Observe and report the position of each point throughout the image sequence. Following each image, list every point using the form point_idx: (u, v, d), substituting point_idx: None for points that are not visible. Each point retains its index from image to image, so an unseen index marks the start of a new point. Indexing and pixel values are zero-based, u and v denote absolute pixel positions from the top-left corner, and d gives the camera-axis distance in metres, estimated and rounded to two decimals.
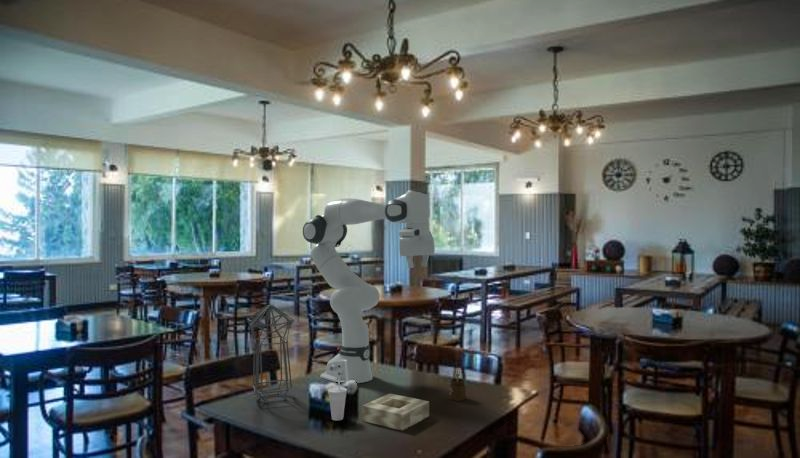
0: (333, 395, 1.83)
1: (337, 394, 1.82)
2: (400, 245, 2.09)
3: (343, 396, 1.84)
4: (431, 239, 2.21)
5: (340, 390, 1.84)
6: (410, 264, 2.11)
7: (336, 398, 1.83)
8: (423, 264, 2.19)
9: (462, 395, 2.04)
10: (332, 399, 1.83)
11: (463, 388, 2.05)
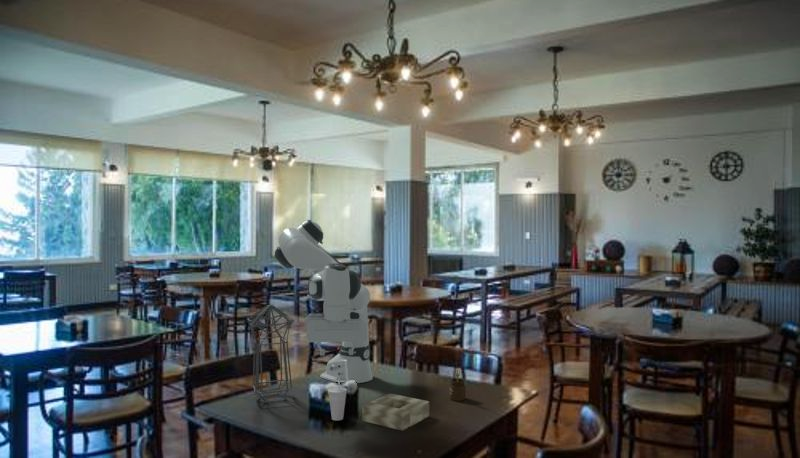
0: (333, 395, 1.83)
1: (337, 394, 1.82)
2: (366, 328, 1.85)
3: (343, 396, 1.84)
4: None
5: (340, 390, 1.84)
6: (353, 350, 1.86)
7: (336, 398, 1.83)
8: (324, 352, 1.85)
9: (462, 395, 2.04)
10: (332, 399, 1.83)
11: (463, 388, 2.05)
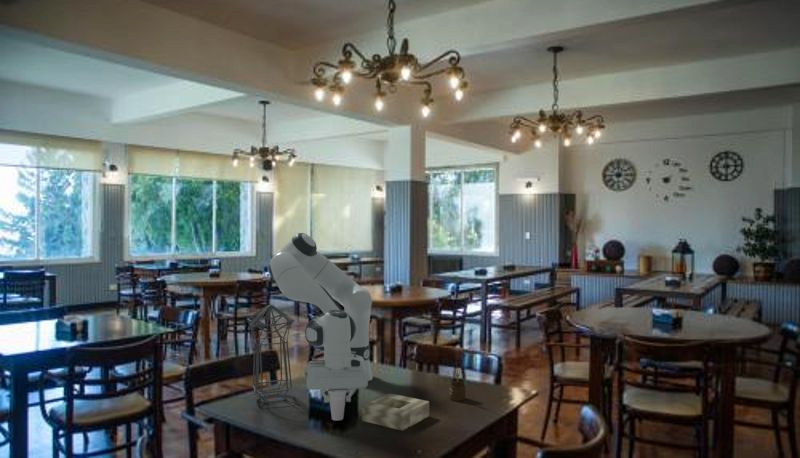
0: (333, 395, 1.83)
1: (337, 394, 1.82)
2: (367, 375, 1.85)
3: (343, 396, 1.84)
4: None
5: (340, 390, 1.84)
6: (350, 397, 1.86)
7: (336, 398, 1.83)
8: None
9: (462, 395, 2.04)
10: (332, 399, 1.83)
11: (463, 388, 2.05)
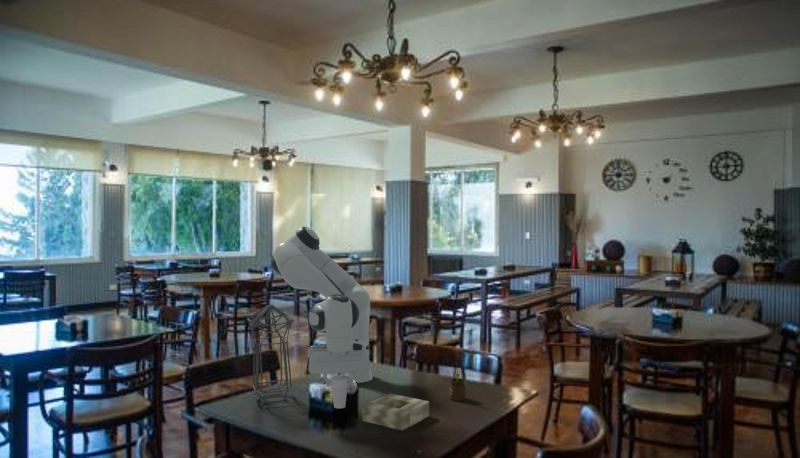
0: (335, 383, 1.83)
1: (339, 382, 1.83)
2: None
3: (345, 384, 1.84)
4: None
5: (342, 378, 1.84)
6: (352, 381, 1.86)
7: (338, 386, 1.83)
8: None
9: (462, 395, 2.04)
10: (334, 387, 1.83)
11: (463, 388, 2.05)
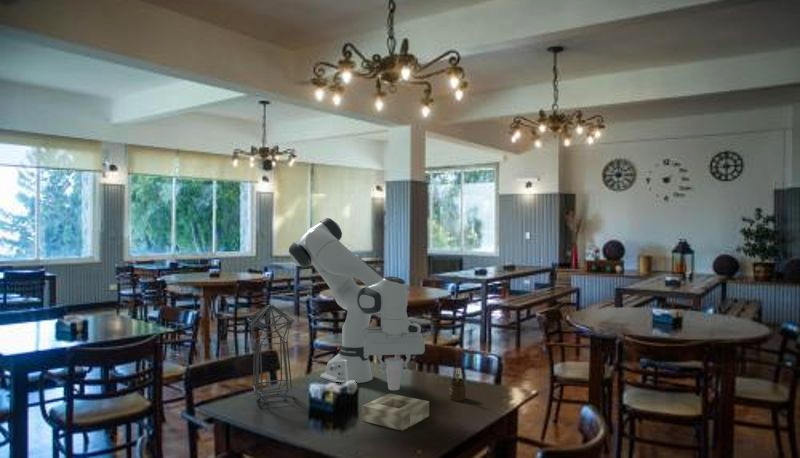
0: (390, 364, 1.83)
1: (394, 364, 1.82)
2: None
3: (400, 366, 1.83)
4: None
5: (397, 360, 1.84)
6: None
7: (393, 368, 1.83)
8: None
9: (462, 395, 2.04)
10: (389, 369, 1.83)
11: (463, 388, 2.05)
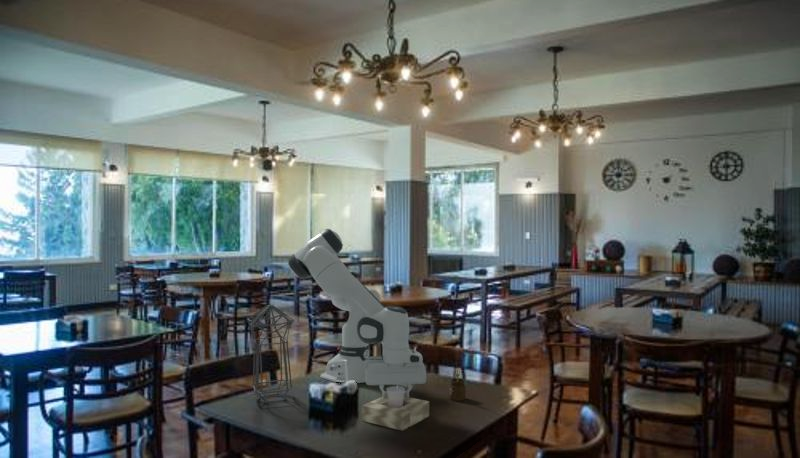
0: (392, 394, 1.83)
1: (396, 394, 1.83)
2: (425, 371, 1.85)
3: (401, 396, 1.84)
4: None
5: (398, 389, 1.84)
6: (408, 392, 1.86)
7: (395, 397, 1.83)
8: (386, 395, 1.85)
9: (462, 395, 2.04)
10: (391, 398, 1.83)
11: (463, 388, 2.05)
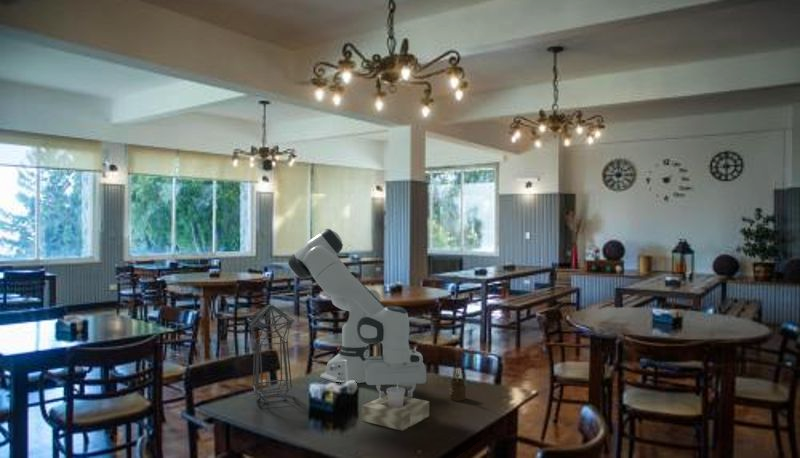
0: (392, 395, 1.83)
1: (396, 394, 1.83)
2: (425, 371, 1.85)
3: (402, 396, 1.84)
4: None
5: (399, 390, 1.84)
6: None
7: (395, 398, 1.83)
8: (383, 395, 1.85)
9: (462, 395, 2.04)
10: (391, 399, 1.83)
11: (463, 388, 2.05)
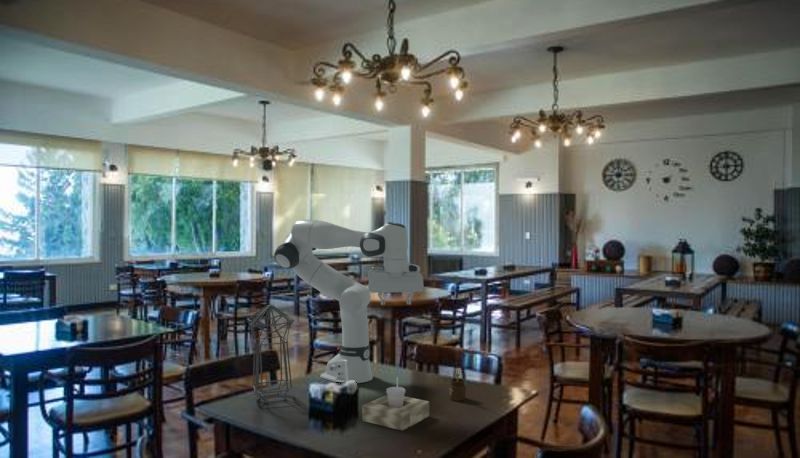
0: (392, 395, 1.83)
1: (396, 394, 1.83)
2: (422, 280, 2.04)
3: (402, 396, 1.84)
4: None
5: (399, 390, 1.84)
6: (410, 300, 2.06)
7: (395, 398, 1.83)
8: (384, 302, 2.04)
9: (462, 395, 2.04)
10: (391, 399, 1.83)
11: (463, 388, 2.05)
